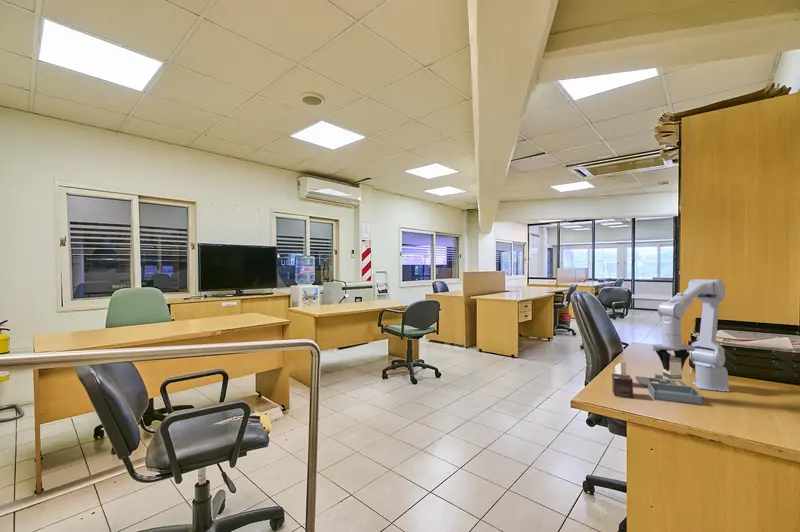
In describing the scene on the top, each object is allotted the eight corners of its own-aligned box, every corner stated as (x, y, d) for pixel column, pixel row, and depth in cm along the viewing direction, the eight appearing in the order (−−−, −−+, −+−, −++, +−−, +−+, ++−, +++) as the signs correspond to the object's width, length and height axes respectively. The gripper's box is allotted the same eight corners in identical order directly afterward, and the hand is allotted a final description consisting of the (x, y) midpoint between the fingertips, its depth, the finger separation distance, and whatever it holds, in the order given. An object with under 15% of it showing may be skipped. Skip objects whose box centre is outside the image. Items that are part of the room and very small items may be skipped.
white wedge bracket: (626, 383, 136) (620, 362, 140) (617, 388, 144) (612, 368, 148) (636, 384, 135) (630, 362, 139) (626, 389, 143) (621, 368, 148)
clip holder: (681, 383, 142) (681, 376, 142) (689, 392, 132) (689, 384, 132) (635, 378, 149) (635, 371, 149) (640, 386, 139) (640, 379, 139)
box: (630, 393, 132) (629, 374, 132) (633, 399, 127) (633, 379, 127) (612, 391, 135) (611, 373, 135) (614, 396, 129) (614, 377, 129)
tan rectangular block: (674, 375, 130) (673, 355, 130) (681, 379, 126) (681, 357, 126) (663, 375, 130) (662, 355, 130) (670, 379, 126) (669, 357, 126)
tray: (692, 394, 129) (692, 386, 129) (703, 405, 119) (702, 397, 119) (648, 389, 135) (647, 382, 135) (654, 399, 125) (654, 391, 125)
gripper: (685, 331, 131) (686, 366, 131) (644, 331, 132) (645, 366, 132) (698, 335, 124) (699, 372, 124) (656, 335, 125) (657, 371, 125)
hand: (672, 369), depth 128 cm, fingers closed on tan rectangular block, 4 cm apart
